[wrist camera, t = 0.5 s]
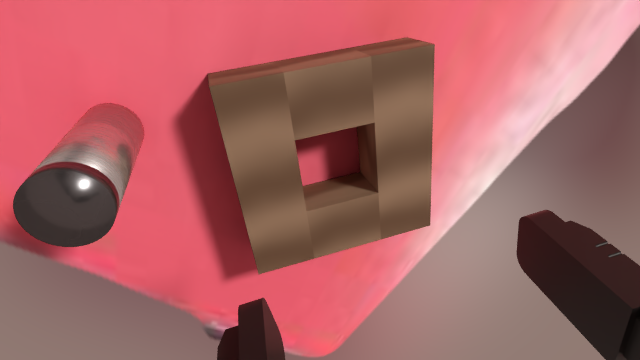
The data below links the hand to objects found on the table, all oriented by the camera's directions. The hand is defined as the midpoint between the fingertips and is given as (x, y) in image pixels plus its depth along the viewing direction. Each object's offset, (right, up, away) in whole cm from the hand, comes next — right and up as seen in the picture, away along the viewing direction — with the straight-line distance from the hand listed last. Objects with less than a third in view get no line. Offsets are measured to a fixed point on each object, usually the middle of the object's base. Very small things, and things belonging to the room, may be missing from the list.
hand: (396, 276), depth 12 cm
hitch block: (-2, +6, +20) cm, 21 cm away
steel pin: (-17, +6, +15) cm, 24 cm away
